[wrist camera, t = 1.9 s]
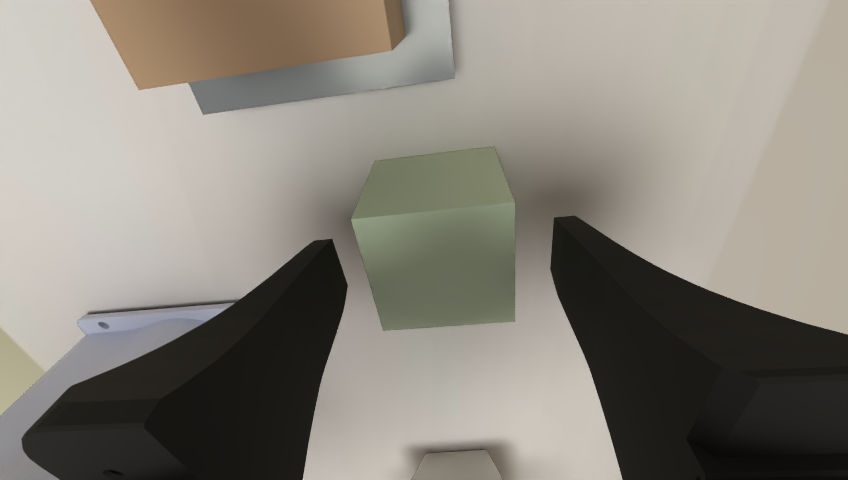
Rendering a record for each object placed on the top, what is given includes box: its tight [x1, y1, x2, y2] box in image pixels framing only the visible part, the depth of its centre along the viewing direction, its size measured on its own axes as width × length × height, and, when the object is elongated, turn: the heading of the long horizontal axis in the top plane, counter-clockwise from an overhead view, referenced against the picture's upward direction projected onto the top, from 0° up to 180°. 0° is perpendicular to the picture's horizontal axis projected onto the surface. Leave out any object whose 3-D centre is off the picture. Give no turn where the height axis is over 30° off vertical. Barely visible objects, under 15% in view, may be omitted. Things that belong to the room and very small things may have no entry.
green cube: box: [351, 146, 515, 331], centre depth 13 cm, size 4×4×4 cm
